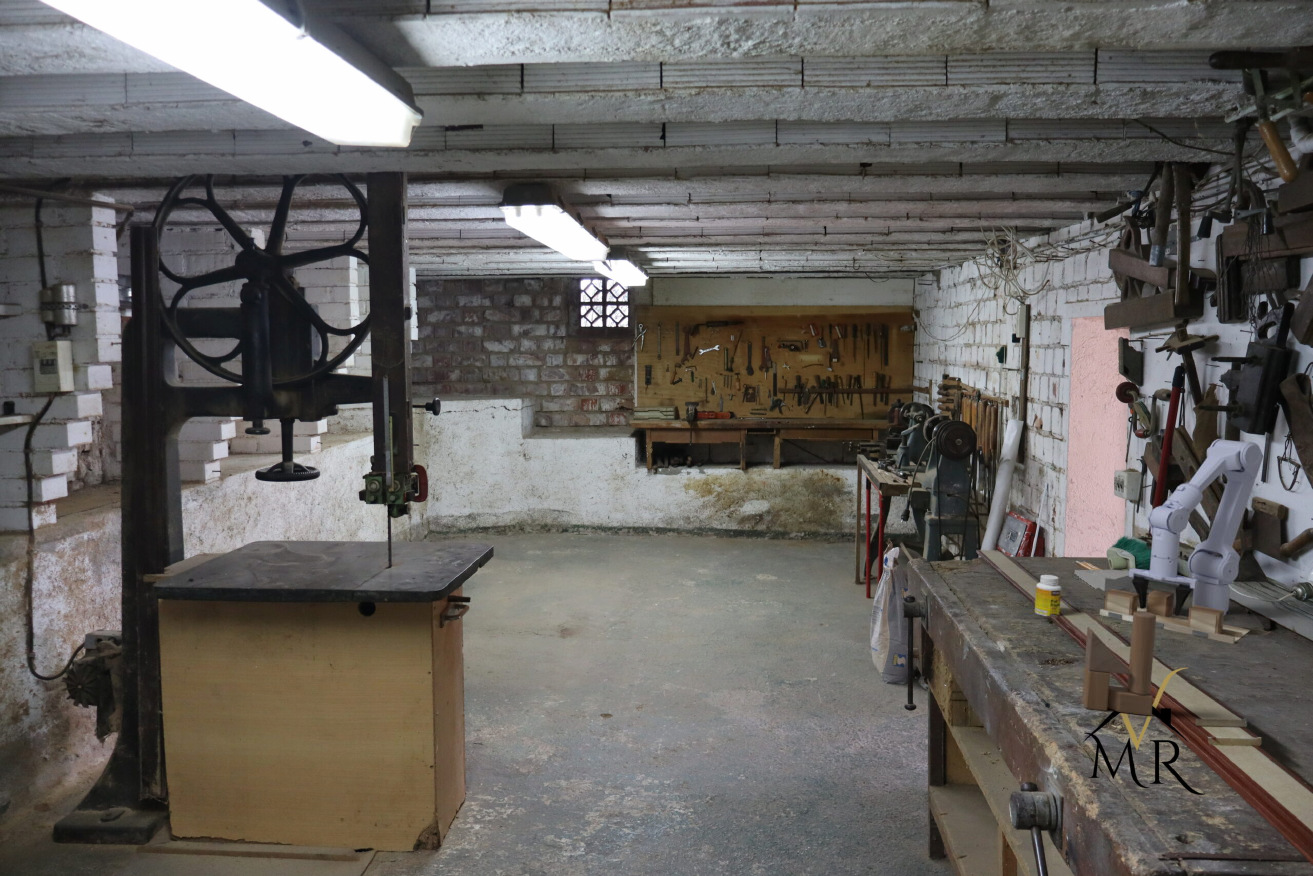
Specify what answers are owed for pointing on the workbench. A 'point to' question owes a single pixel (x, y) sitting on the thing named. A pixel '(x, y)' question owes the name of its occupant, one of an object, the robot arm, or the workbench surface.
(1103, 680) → the wooden block
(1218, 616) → the faced block
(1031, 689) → the workbench surface
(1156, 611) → the turned block
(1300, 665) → the workbench surface
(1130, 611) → the faced block
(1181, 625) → the long shallow wooden tray
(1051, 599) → the supplement bottle
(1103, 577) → the ramp
